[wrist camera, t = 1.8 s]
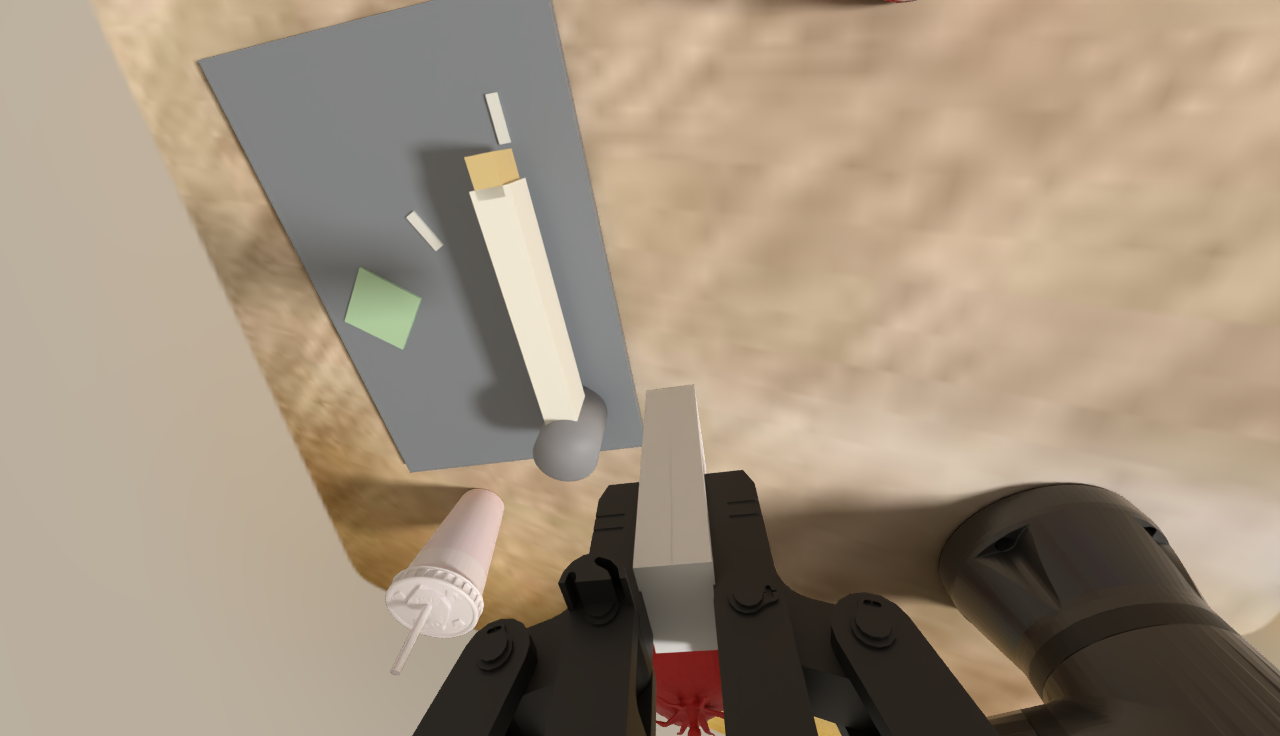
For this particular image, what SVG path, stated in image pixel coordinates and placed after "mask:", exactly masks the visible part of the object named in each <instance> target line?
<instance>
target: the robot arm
mask: <svg viewBox="0 0 1280 736" xmlns="http://www.w3.org/2000/svg"><path fill="white" fill-rule="evenodd" d="M939 575H940V579H941V582H942V584H943V586H944V588H945V589H946V591H947V593H948V594H949V596H950V598H951V599H952V601H953V603H954V604H955V606H956V607H957V609H958V610H959V611H960V613H961V614H962V615H963V616H964V617H965V618H966V619H967V620H968V621H969V622H970V623H972V624H973V625H974V626H975V627H976V628H977V629H978V630H979V631H980V632H981V633H982V634H983V635H984V636H985V637H986V638H987V639H988V640H990V641H991V642H992V643H993V644H994V645H995V646H996V647H997V648H998V649H999V650H1000V651H1001V652H1002V653H1003V654H1004V655H1005V656H1007V657H1008V658H1009V659H1010V660H1011V661H1012V662H1013V663H1014V664H1015V665H1016V666H1017V667H1018V668H1019V669H1021V670H1022V671H1023V673H1024V674H1025V675H1026V676H1027V678H1028V679H1029V681H1030V682H1031V684H1032V685H1033V687H1034V688H1035V690H1036V692H1037V693H1038V695H1039V696H1040V698H1041V699H1042V701H1043V702H1044V704H1043V705H1039V706H1034V707H1030V708H1025V709H1021V710H1016V711H1011V712H1007V713H1003V714H998V715H994V716H989V717H986V716H985V715H984V714H983V713H982V711H981V710H980V709H979V707H978V706H977V705H976V703H975V702H974V701H973V700H972V698H971V697H970V696H969V694H968V693H967V692H966V690H965V689H964V688H963V686H962V685H961V684H960V683H959V681H958V680H957V679H956V677H955V676H954V675H953V673H952V672H951V671H950V670H949V668H948V667H947V666H946V664H945V663H944V662H943V660H942V659H941V658H940V657H939V655H938V654H937V653H936V651H935V650H934V649H933V647H932V646H931V645H930V644H929V642H928V641H927V640H926V638H925V637H924V636H923V634H922V633H921V632H920V631H919V629H918V628H917V627H916V625H915V624H914V623H913V621H912V620H911V619H910V617H909V616H908V615H907V614H906V613H905V612H904V611H903V610H902V609H901V608H899V607H898V606H897V605H896V604H895V603H893V602H891V601H889V600H887V599H885V598H884V597H882V596H878V595H874V594H869V593H855V594H849V595H848V596H846V597H844V598H842V599H840V600H839V601H838V602H837V604H836V605H835V604H830V603H826V602H822V601H817V600H813V599H810V598H807V597H804V596H801V595H800V594H798V593H796V592H794V591H793V590H791V589H790V588H789V587H788V586H787V585H785V584H784V583H783V582H782V580H781V579H780V577H779V576H778V575H777V572H776V569H775V567H774V563H773V559H772V555H771V551H770V546H769V542H768V538H767V534H766V530H765V525H764V521H763V517H762V513H761V509H760V504H759V501H758V496H757V492H756V488H755V483H754V482H753V481H752V480H751V479H750V478H749V476H748V475H747V474H746V473H745V472H744V471H743V470H738V471H729V472H719V473H710V474H707V473H706V464H705V455H704V448H703V441H702V434H701V428H700V421H699V414H698V407H697V401H696V394H695V387H694V384H693V385H685V386H677V387H670V388H662V389H654V390H647V391H646V403H645V416H644V429H643V442H642V455H641V468H640V481H639V482H636V483H626V484H616V485H609V486H608V487H607V489H606V490H605V492H604V493H603V495H602V496H601V498H600V499H599V502H598V508H597V513H596V519H595V525H594V533H593V536H592V541H591V547H590V552H589V554H586V555H583V556H582V557H580V558H578V559H577V560H575V561H573V562H572V563H571V564H570V565H569V566H568V567H567V568H566V569H565V570H564V572H563V574H562V576H561V578H560V580H559V583H558V584H559V587H560V589H561V592H562V594H563V597H564V600H565V602H566V605H567V607H568V609H566V610H565V611H564V612H563V613H561V614H560V615H558V616H556V617H554V618H552V619H549V620H547V621H544V622H542V623H539V624H537V625H534V626H531V627H529V628H526V627H525V626H524V624H523V623H521V622H519V621H517V620H515V619H500V620H497V621H495V622H492V623H489V624H488V625H486V626H485V627H484V628H482V629H481V630H480V631H478V632H477V633H476V634H475V635H474V636H473V638H472V639H471V640H470V642H469V643H468V644H467V645H466V647H465V649H464V650H463V652H462V654H461V655H460V657H459V659H458V660H457V662H456V664H455V665H454V667H453V669H452V670H451V672H450V674H449V675H448V677H447V679H446V680H445V682H444V684H443V685H442V687H441V689H440V690H439V692H438V694H437V696H436V697H435V699H434V700H433V702H432V704H431V705H430V707H429V709H428V710H427V712H426V714H425V715H424V717H423V719H422V720H421V722H420V724H419V725H418V727H417V729H416V731H415V732H414V734H413V735H412V736H656V677H655V671H654V668H653V643H654V647H655V651H656V653H670V652H688V651H706V650H718V656H719V667H720V678H721V688H722V699H723V710H724V721H725V732H726V736H818V733H817V729H816V725H815V720H814V716H815V717H818V718H821V719H824V720H827V721H830V722H833V723H836V725H837V727H838V729H839V731H840V733H841V735H842V736H1280V671H1279V669H1277V668H1276V667H1275V666H1274V665H1273V664H1272V663H1271V662H1270V661H1268V660H1267V659H1266V658H1265V657H1264V656H1263V655H1262V654H1261V653H1260V652H1258V651H1257V650H1256V649H1255V648H1254V647H1253V646H1252V645H1251V644H1249V643H1248V642H1247V641H1246V640H1245V639H1243V638H1242V637H1241V636H1240V635H1239V634H1238V633H1237V632H1236V631H1235V630H1234V629H1232V628H1231V627H1230V626H1229V625H1228V624H1227V623H1226V622H1225V621H1224V620H1223V619H1221V618H1220V617H1219V616H1218V615H1217V614H1216V613H1215V612H1214V611H1213V610H1212V609H1211V608H1210V607H1209V606H1208V604H1207V603H1206V601H1205V600H1204V598H1203V596H1202V595H1201V593H1200V591H1199V590H1198V588H1197V587H1196V585H1195V583H1194V582H1193V580H1192V579H1191V577H1190V575H1189V574H1188V572H1187V571H1186V569H1185V567H1184V566H1183V564H1182V563H1181V561H1180V559H1179V558H1178V556H1177V555H1176V553H1175V552H1174V550H1173V549H1172V548H1171V546H1170V545H1169V543H1168V540H1167V539H1166V537H1165V536H1164V534H1163V532H1162V531H1161V530H1160V529H1159V527H1158V526H1157V525H1156V524H1155V523H1154V522H1153V521H1152V520H1151V519H1150V518H1148V517H1147V516H1146V515H1145V514H1144V513H1142V512H1141V511H1140V510H1139V509H1138V508H1136V507H1135V506H1134V505H1133V504H1132V503H1130V502H1129V501H1128V500H1127V499H1125V498H1124V497H1122V496H1120V495H1118V494H1116V493H1114V492H1112V491H1109V490H1106V489H1103V488H1098V487H1093V486H1086V485H1056V486H1048V487H1042V488H1037V489H1032V490H1028V491H1024V492H1021V493H1018V494H1015V495H1012V496H1010V497H1007V498H1005V499H1002V500H1000V501H998V502H996V503H994V504H992V505H990V506H988V507H986V508H984V509H983V510H981V511H979V512H978V513H977V514H975V515H974V516H972V517H971V518H970V519H968V520H967V521H966V522H965V523H964V524H962V525H961V526H960V527H959V528H958V529H957V530H956V531H955V533H954V534H953V535H952V536H951V538H950V539H949V540H948V542H947V543H946V545H945V547H944V549H943V551H942V554H941V557H940V561H939Z"/></svg>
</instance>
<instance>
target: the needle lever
mask: <svg viewBox="0 0 1280 736" xmlns="http://www.w3.org/2000/svg"><path fill="white" fill-rule="evenodd" d="M464 159H465V162H466V165H467V168H468V171H469V174H470V177H471V180H472V184H473V187H474V190H473V191H470V192H469V193H470V196H471V199H472V202H473V206H474V209H475V212H476V215H477V218H478V221H479V224H480V227H481V230H482V233H483V236H484V239H485V242H486V245H487V248H488V251H489V254H490V257H491V260H492V263H493V266H494V269H495V272H496V276H497V279H498V282H499V285H500V288H501V291H502V294H503V297H504V300H505V303H506V306H507V309H508V312H509V315H510V318H511V321H512V324H513V327H514V330H515V333H516V336H517V339H518V342H519V345H520V349H521V352H522V355H523V358H524V361H525V364H526V367H527V370H528V373H529V376H530V379H531V382H532V385H533V388H534V391H535V394H536V397H537V400H538V403H539V406H540V409H541V412H542V415H543V419H544V423H543V425H542V427H541V430H540V432H539V434H538V437H537V439H536V442H535V444H534V447H533V458H534V461H535V463H536V465H537V466H538V467H539V469H540V470H541V471H542V472H544V473H545V474H546V475H548V476H549V477H552V478H554V479H557V480H560V481H578V480H581V479H584V478H586V477H587V476H589V475H590V474H591V473H592V472H593V471H594V469H595V468H596V465H597V462H598V457H599V453H600V448H601V443H602V438H603V434H604V429H605V424H606V420H607V407H606V404H605V402H604V401H603V399H602V398H601V397H600V396H599V395H598V394H597V393H595V392H594V391H592V390H590V389H587V388H583V387H582V383H581V380H580V376H579V372H578V369H577V365H576V361H575V358H574V354H573V351H572V347H571V343H570V340H569V336H568V332H567V329H566V325H565V321H564V318H563V314H562V310H561V307H560V303H559V299H558V296H557V292H556V288H555V285H554V281H553V277H552V274H551V270H550V266H549V263H548V259H547V255H546V252H545V248H544V244H543V241H542V237H541V233H540V230H539V226H538V222H537V219H536V215H535V211H534V208H533V204H532V200H531V197H530V193H529V190H528V186H527V182H526V179H525V178H521V179H520V177H519V174H518V170H517V166H516V163H515V159H514V156H513V152H512V148H510V149H504V150H498V151H493V152H488V153H483V154H478V155H473V156H468V157H464Z"/></svg>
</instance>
